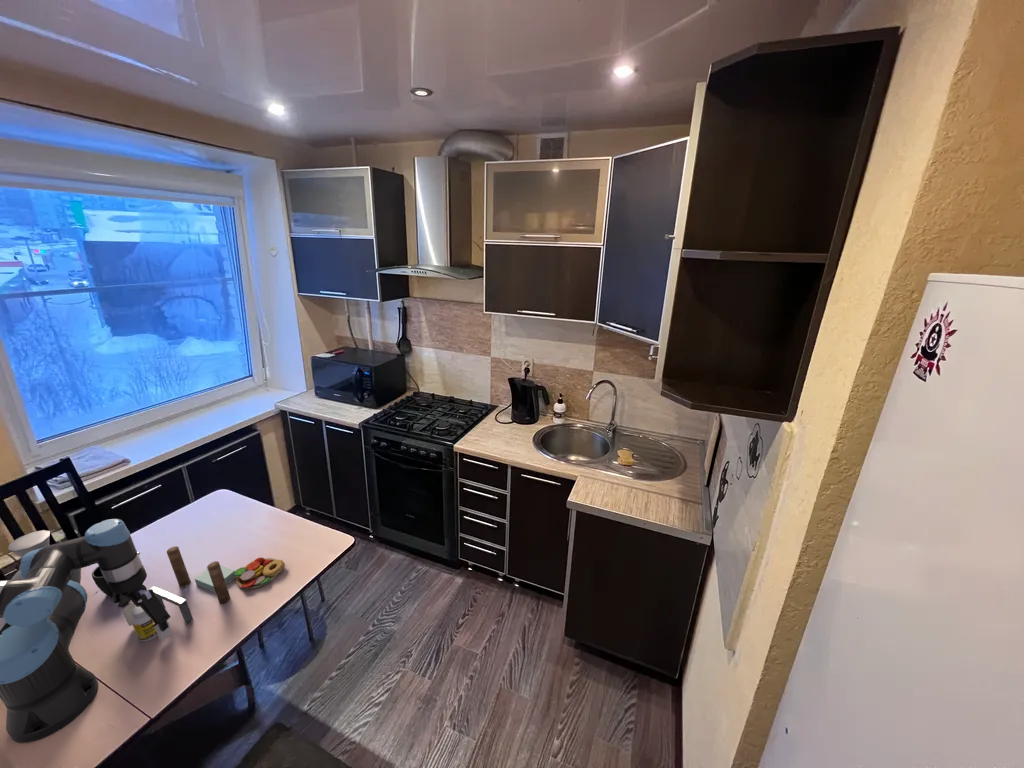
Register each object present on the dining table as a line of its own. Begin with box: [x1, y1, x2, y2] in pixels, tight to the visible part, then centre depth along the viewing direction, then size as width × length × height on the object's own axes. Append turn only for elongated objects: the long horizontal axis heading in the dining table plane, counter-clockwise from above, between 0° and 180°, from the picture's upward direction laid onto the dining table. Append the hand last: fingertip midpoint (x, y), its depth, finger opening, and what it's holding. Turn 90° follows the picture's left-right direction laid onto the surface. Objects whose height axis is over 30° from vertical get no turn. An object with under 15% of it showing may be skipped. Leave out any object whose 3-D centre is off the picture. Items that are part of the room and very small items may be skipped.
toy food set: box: [234, 557, 286, 590], centre depth 140 cm, size 13×13×3 cm
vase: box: [7, 529, 82, 585], centre depth 125 cm, size 14×14×25 cm
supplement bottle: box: [131, 605, 158, 642], centre depth 119 cm, size 5×5×10 cm
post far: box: [166, 546, 192, 588], centre depth 134 cm, size 3×3×14 cm
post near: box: [206, 560, 231, 605], centre depth 129 cm, size 3×3×14 cm
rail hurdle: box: [149, 585, 194, 625], centre depth 125 cm, size 2×14×8 cm, turn 70°
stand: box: [194, 565, 237, 593], centre depth 138 cm, size 7×9×2 cm
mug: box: [91, 565, 113, 599], centre depth 133 cm, size 8×12×10 cm
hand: (150, 629), depth 120 cm, fingers open, 13 cm apart
